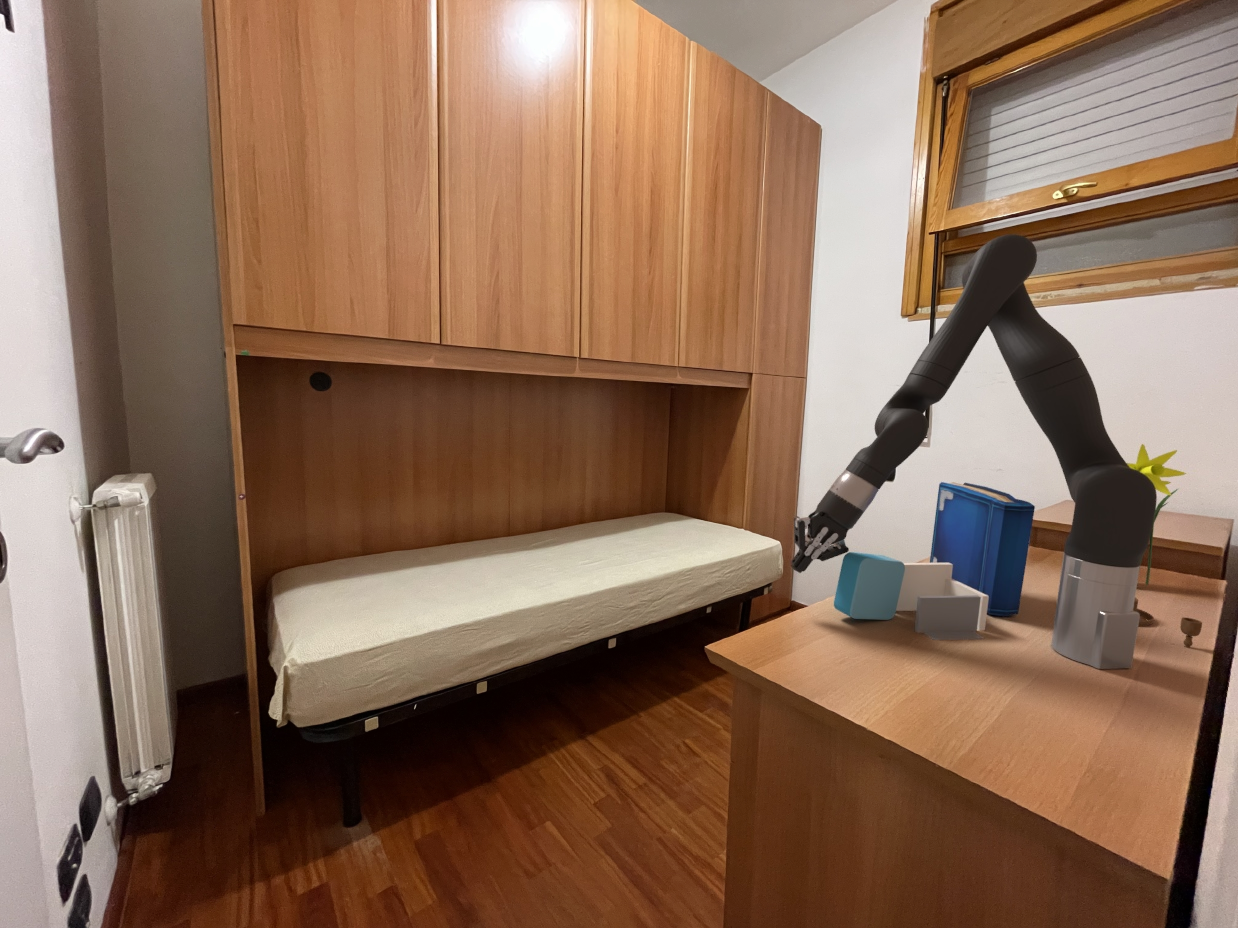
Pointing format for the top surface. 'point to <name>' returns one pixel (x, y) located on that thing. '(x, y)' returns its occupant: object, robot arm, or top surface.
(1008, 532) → the book
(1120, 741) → the top surface
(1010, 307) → the robot arm
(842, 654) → the top surface
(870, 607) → the data package
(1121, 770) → the top surface
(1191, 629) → the place setting
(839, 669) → the top surface
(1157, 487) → the daffodil flowers
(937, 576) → the shelf nook
